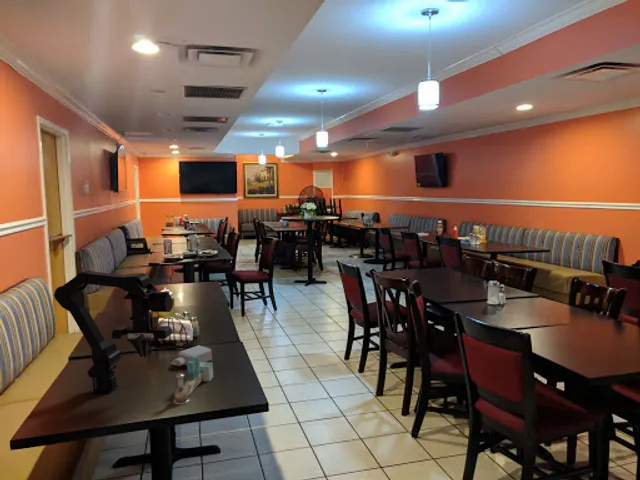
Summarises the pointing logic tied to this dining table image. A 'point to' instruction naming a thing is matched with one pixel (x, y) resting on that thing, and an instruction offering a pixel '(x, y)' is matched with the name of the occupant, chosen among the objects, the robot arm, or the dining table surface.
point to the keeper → (206, 370)
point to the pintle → (180, 387)
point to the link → (190, 380)
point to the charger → (195, 351)
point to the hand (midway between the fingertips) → (143, 357)
